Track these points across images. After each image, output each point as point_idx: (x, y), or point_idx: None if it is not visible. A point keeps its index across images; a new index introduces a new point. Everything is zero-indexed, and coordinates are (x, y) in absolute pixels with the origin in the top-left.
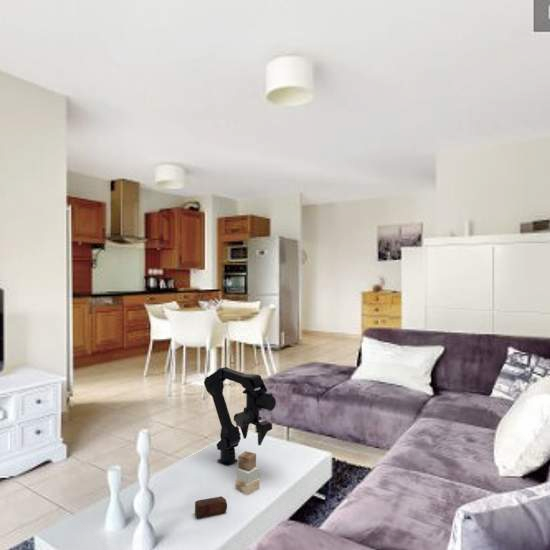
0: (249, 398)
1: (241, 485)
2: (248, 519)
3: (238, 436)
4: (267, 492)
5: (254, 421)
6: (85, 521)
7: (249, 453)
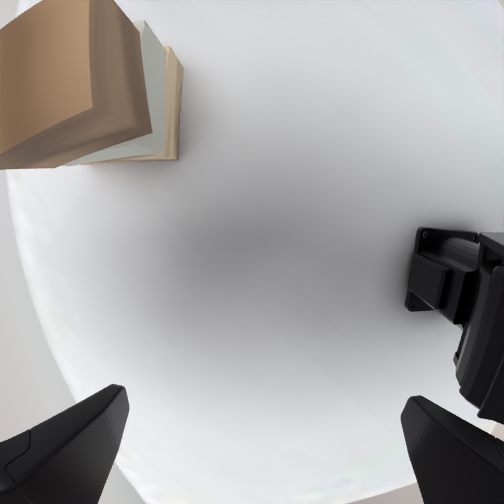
0: None
1: None
2: (20, 13)
3: (485, 389)
4: (47, 173)
5: None
6: None
7: (17, 108)
